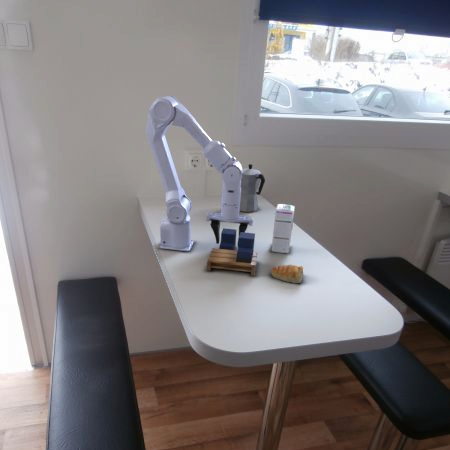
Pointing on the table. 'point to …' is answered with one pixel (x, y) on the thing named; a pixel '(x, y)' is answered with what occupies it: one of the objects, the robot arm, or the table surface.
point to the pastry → (288, 273)
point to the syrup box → (283, 228)
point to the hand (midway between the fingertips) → (228, 243)
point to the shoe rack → (229, 261)
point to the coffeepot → (250, 189)
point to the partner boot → (245, 247)
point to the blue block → (228, 239)
